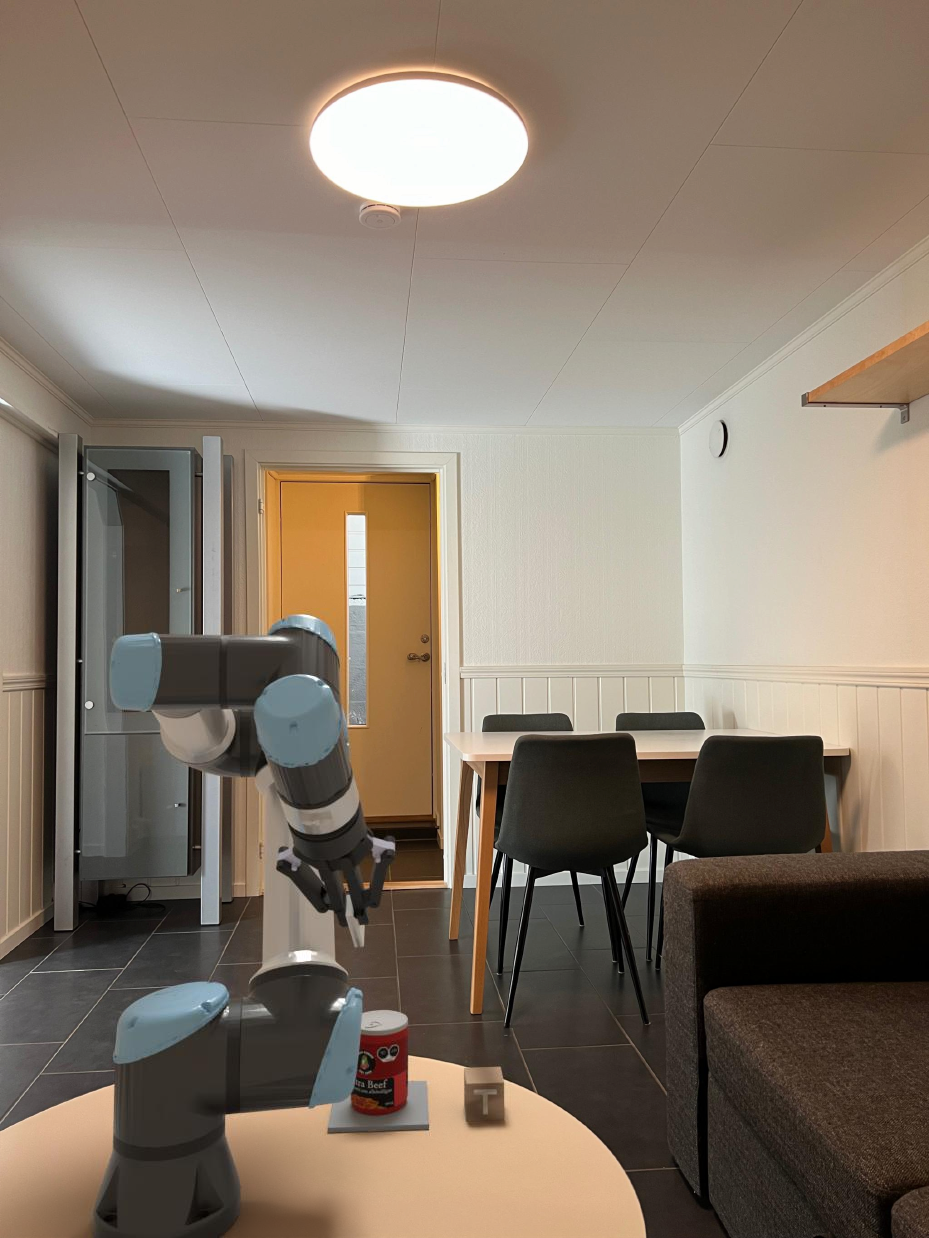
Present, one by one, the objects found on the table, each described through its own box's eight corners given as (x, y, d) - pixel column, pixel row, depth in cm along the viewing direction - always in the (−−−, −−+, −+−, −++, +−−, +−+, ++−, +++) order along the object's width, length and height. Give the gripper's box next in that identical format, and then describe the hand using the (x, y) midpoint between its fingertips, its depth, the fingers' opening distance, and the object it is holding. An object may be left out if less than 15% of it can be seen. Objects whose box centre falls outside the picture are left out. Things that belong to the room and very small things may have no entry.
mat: (327, 1132, 115) (327, 1127, 115) (335, 1087, 128) (335, 1083, 128) (428, 1129, 116) (428, 1124, 116) (426, 1085, 129) (426, 1080, 129)
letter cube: (466, 1123, 118) (466, 1083, 118) (464, 1105, 123) (464, 1067, 123) (504, 1122, 118) (504, 1082, 118) (500, 1104, 123) (500, 1066, 124)
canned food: (339, 1109, 120) (340, 1025, 121) (370, 1085, 127) (370, 1006, 128) (388, 1121, 117) (389, 1034, 118) (418, 1096, 124) (418, 1014, 125)
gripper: (256, 844, 87) (303, 971, 102) (384, 832, 87) (413, 961, 102) (265, 785, 93) (309, 913, 108) (385, 773, 93) (412, 903, 108)
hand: (359, 936), depth 105 cm, fingers closed
